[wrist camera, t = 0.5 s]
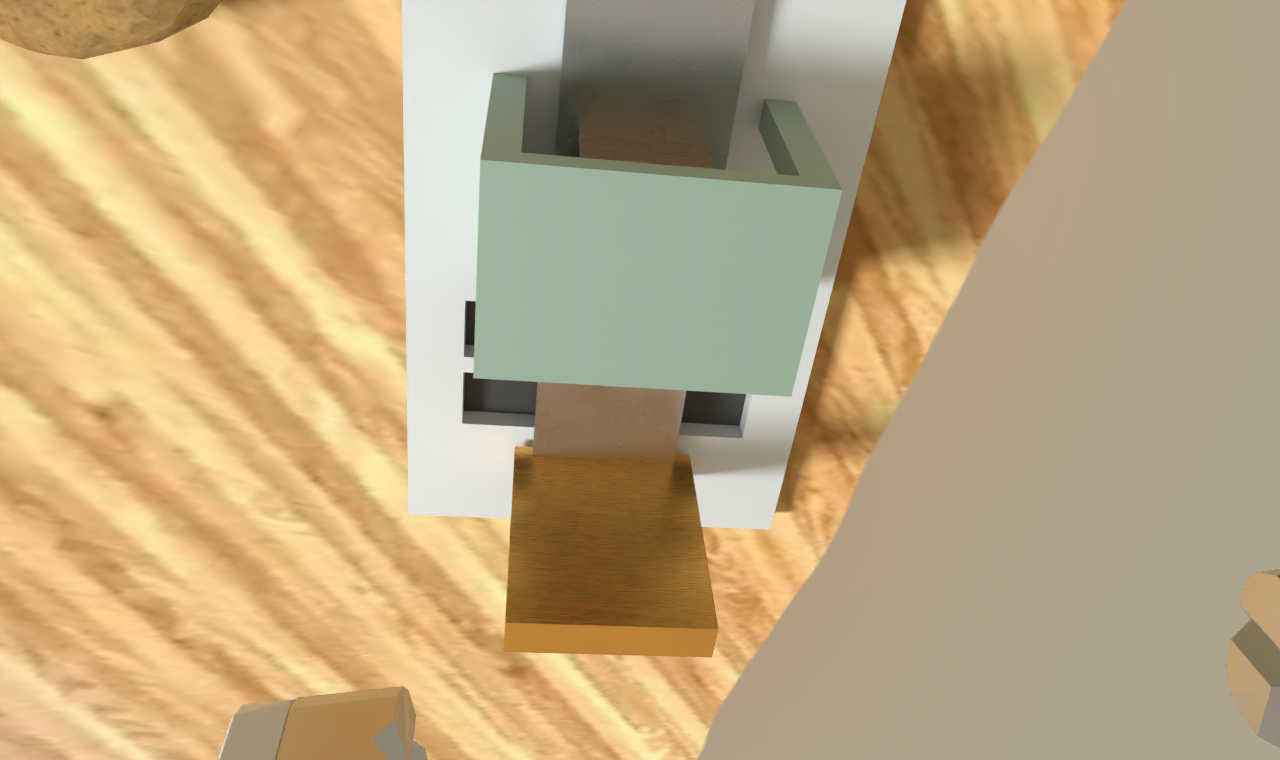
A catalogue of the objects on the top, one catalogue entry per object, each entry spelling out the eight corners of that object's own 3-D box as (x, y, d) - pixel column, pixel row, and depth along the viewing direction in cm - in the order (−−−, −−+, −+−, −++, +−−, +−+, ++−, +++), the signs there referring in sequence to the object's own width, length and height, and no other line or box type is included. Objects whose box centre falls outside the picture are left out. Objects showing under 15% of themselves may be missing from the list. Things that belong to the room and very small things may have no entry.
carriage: (546, -62, 43) (542, 34, 32) (780, -36, 44) (851, 65, 34) (513, 470, 60) (503, 651, 49) (684, 479, 61) (711, 657, 50)
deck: (404, -222, 41) (399, -218, 40) (933, -155, 44) (944, -149, 43) (411, 497, 63) (408, 514, 61) (766, 513, 65) (770, 529, 64)
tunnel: (493, 73, 47) (480, 159, 39) (795, 101, 48) (842, 190, 40) (486, 267, 52) (473, 378, 44) (757, 287, 54) (791, 396, 46)
